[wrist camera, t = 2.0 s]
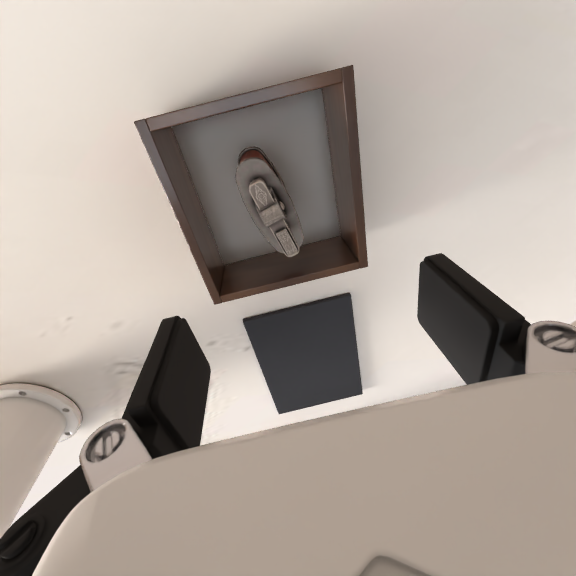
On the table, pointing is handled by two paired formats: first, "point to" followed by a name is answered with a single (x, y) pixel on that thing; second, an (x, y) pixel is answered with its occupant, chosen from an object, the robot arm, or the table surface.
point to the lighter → (268, 201)
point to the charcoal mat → (307, 352)
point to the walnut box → (275, 266)
